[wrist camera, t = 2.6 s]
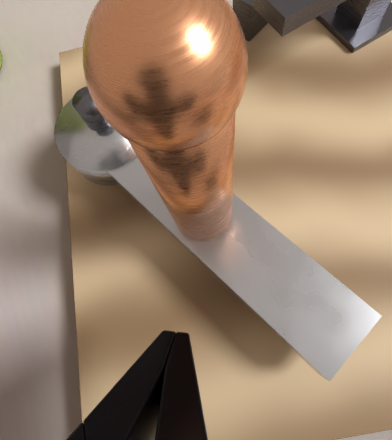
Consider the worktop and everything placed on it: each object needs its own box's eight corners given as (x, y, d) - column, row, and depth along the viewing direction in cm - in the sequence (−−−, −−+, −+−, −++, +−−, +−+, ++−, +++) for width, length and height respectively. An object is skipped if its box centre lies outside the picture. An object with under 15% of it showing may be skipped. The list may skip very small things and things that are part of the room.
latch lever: (54, 147, 18) (-235, -131, 7) (119, 89, 18) (-42, -246, 7) (301, 392, 13) (775, 887, 2) (377, 298, 13) (1041, 224, 2)
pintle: (160, 175, 18) (135, 126, 13) (92, 190, 18) (45, 146, 13) (150, 118, 19) (124, 54, 14) (87, 132, 19) (43, 74, 14)
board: (570, 384, 14) (602, 391, 12) (97, 471, 14) (85, 485, 13) (367, -6, 21) (375, -24, 20) (68, 66, 22) (59, 52, 21)
